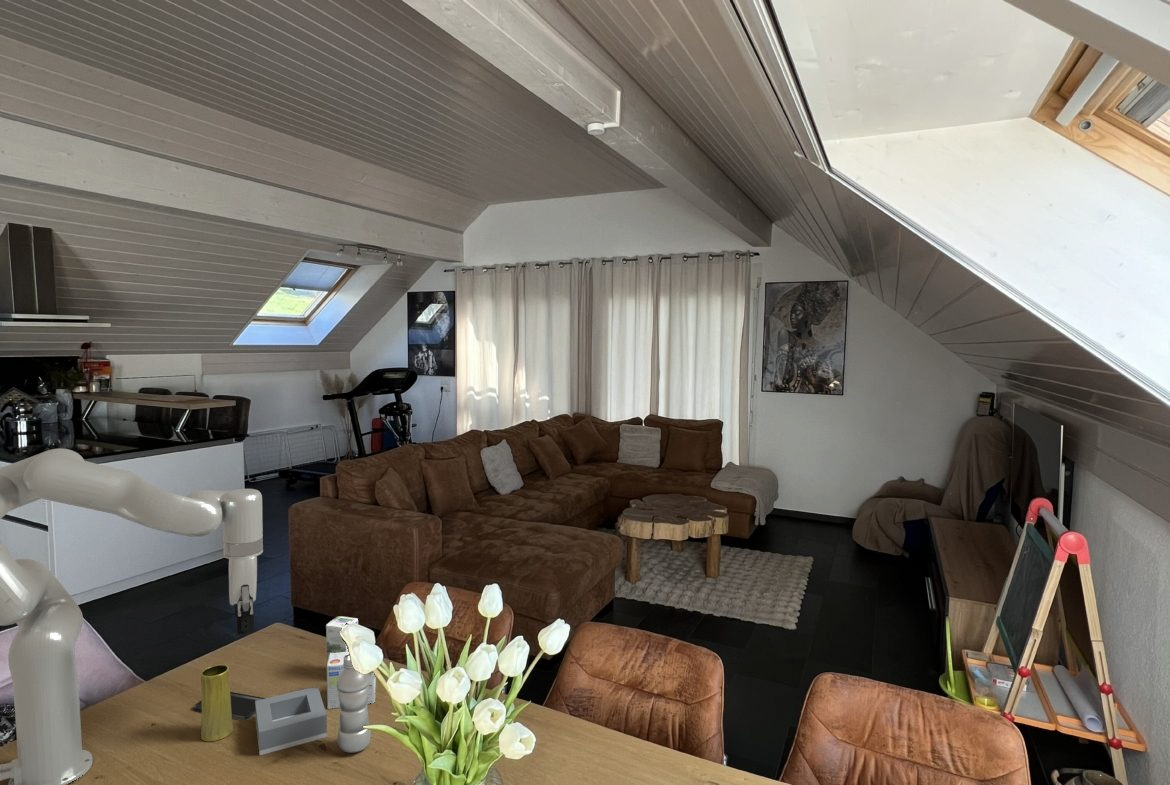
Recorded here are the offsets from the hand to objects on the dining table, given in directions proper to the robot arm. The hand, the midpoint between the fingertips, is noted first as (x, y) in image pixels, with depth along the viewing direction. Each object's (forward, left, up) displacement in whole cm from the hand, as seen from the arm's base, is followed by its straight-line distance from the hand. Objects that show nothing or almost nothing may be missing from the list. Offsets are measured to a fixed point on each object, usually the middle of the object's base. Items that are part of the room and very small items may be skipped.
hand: (244, 623), depth 141 cm
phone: (-3, +10, -24) cm, 26 cm away
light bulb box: (+22, 0, -24) cm, 32 cm away
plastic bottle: (+19, -19, -24) cm, 36 cm away
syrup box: (+22, +12, -24) cm, 34 cm away
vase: (-6, 0, -24) cm, 24 cm away
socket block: (+8, -6, -23) cm, 25 cm away
